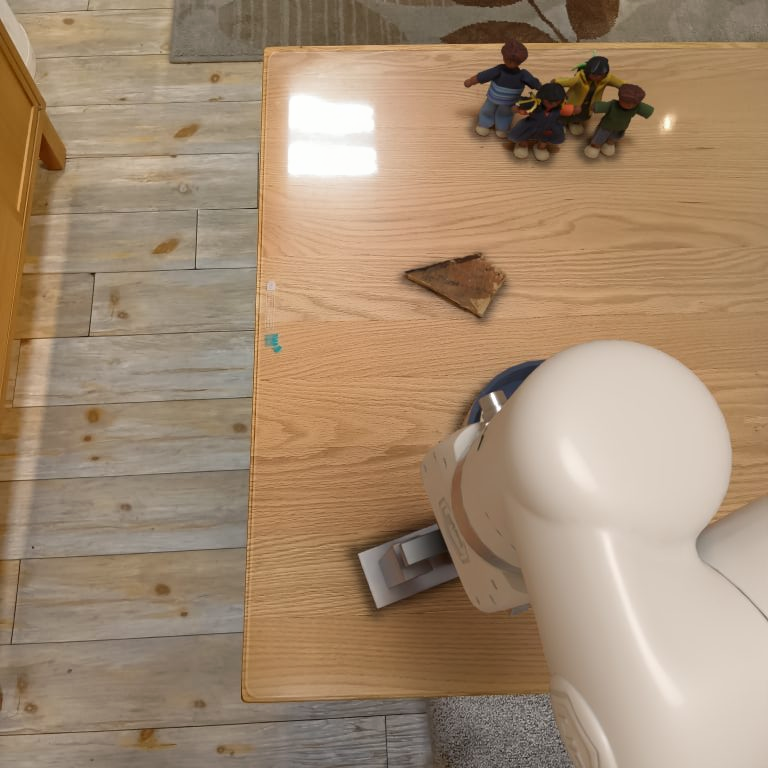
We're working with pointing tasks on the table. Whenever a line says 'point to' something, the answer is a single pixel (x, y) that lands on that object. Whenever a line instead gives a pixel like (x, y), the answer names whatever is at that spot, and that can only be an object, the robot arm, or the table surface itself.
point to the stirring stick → (423, 547)
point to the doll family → (556, 104)
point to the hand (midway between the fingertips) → (463, 533)
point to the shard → (462, 280)
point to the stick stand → (402, 570)
